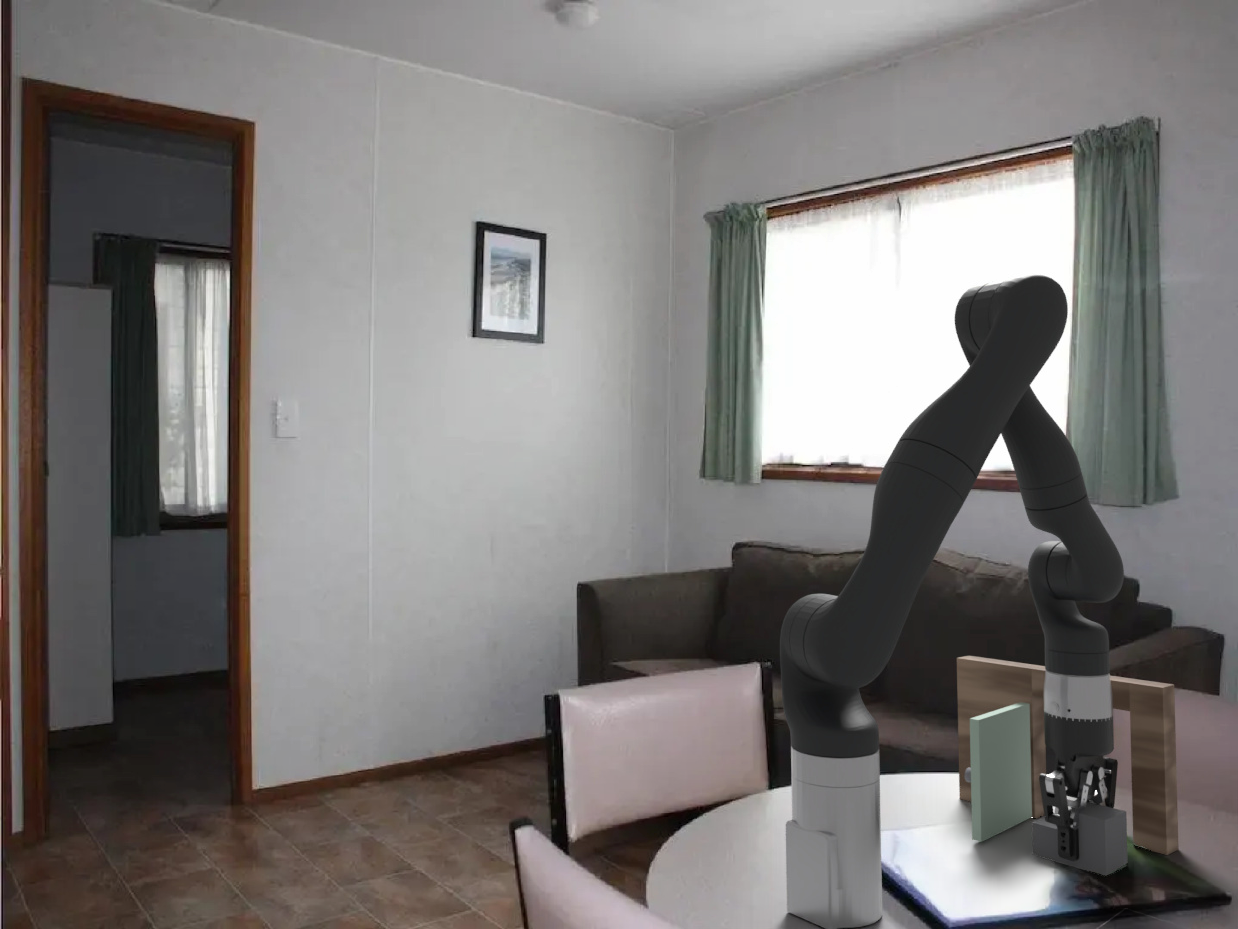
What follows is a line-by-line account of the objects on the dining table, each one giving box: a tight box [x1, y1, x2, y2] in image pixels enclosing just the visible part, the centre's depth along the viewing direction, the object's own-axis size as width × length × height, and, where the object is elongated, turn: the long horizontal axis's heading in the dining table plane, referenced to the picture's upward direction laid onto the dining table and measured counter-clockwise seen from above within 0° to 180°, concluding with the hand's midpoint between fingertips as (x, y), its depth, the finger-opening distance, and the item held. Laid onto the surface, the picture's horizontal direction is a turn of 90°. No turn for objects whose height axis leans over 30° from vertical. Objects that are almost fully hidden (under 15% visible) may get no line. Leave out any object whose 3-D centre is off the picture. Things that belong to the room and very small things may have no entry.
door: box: [965, 702, 1032, 843], centre depth 130 cm, size 2×14×15 cm, turn 132°
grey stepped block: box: [1031, 802, 1129, 876], centre depth 120 cm, size 5×9×6 cm, turn 37°
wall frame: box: [956, 655, 1179, 856], centre depth 133 cm, size 3×28×20 cm, turn 37°
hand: (1081, 852), depth 120 cm, fingers open, 5 cm apart
